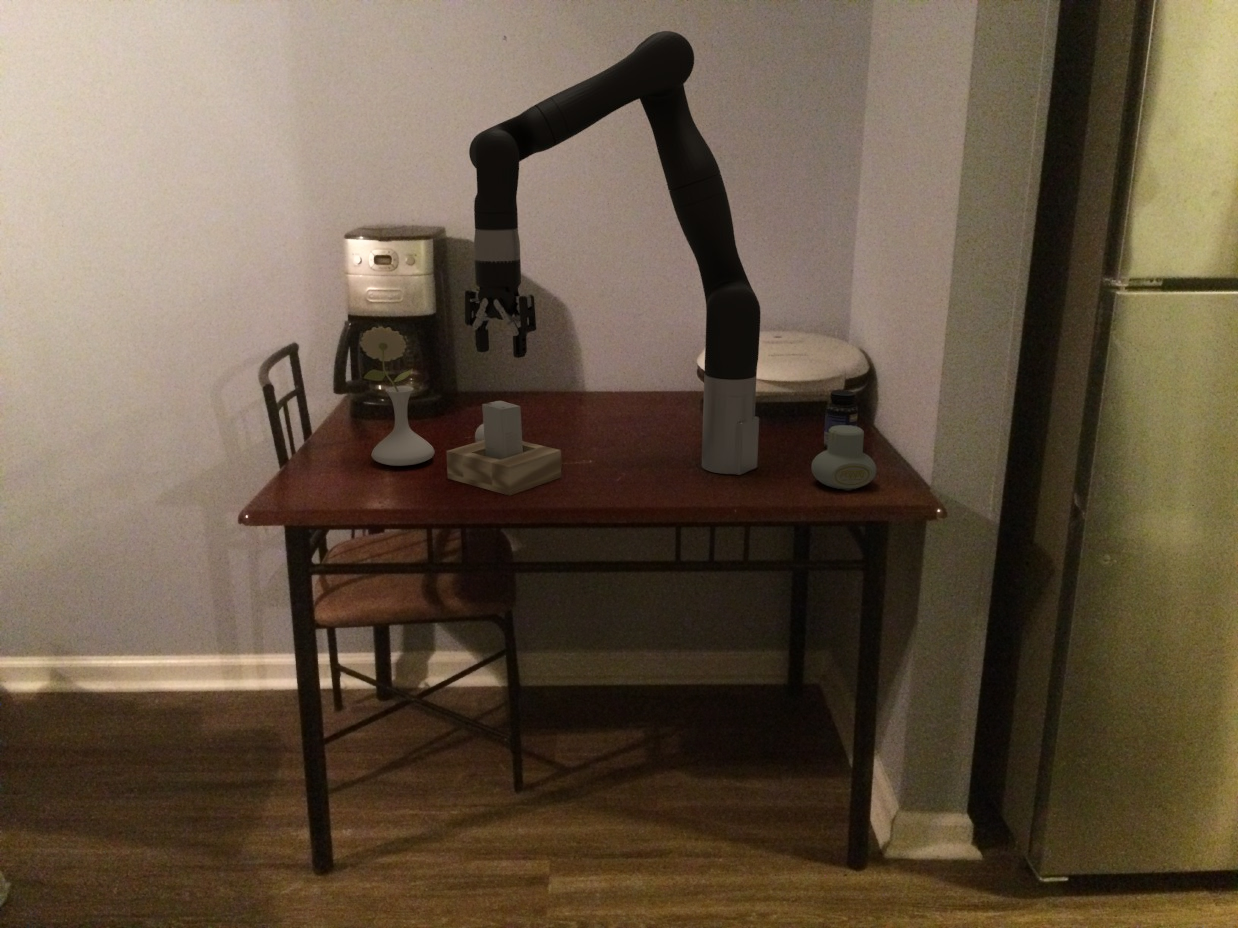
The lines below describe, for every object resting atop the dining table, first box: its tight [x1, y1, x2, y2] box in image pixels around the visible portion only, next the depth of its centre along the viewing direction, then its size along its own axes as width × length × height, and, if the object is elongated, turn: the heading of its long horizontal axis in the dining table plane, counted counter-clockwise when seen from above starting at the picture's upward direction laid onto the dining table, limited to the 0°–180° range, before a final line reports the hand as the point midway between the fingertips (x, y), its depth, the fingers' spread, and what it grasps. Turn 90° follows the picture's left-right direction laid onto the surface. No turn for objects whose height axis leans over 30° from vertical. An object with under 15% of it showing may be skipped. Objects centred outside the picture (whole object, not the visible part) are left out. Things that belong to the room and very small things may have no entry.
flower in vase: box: [359, 326, 436, 467], centre depth 184 cm, size 13×11×25 cm
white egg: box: [466, 422, 485, 443], centre depth 195 cm, size 8×6×6 cm
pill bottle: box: [823, 389, 859, 449], centre depth 197 cm, size 6×6×11 cm
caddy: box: [446, 440, 562, 496], centre depth 178 cm, size 15×13×5 cm
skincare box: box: [481, 400, 523, 460], centre depth 177 cm, size 6×4×12 cm
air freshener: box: [810, 425, 877, 491], centre depth 175 cm, size 11×8×10 cm
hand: (501, 354), depth 172 cm, fingers open, 8 cm apart
